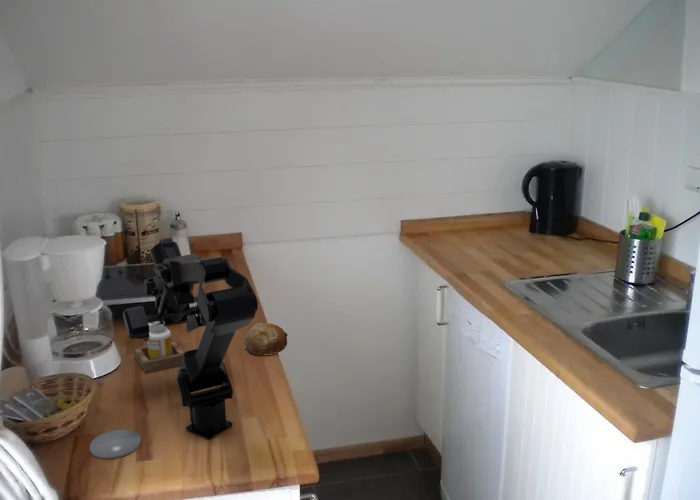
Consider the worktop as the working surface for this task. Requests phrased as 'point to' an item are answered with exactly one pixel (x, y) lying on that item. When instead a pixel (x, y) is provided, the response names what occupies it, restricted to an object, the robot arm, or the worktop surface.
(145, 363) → the rectangular wooden frame
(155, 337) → the supplement bottle
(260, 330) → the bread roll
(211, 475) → the worktop surface
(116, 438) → the slate coaster
